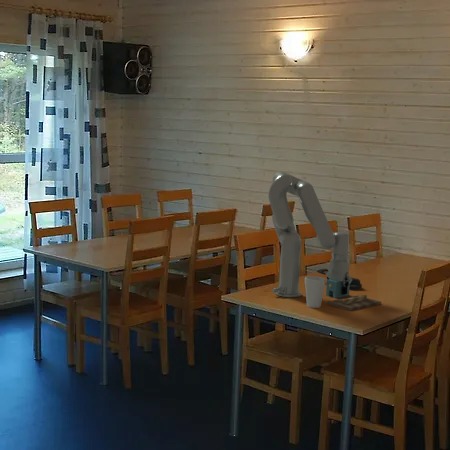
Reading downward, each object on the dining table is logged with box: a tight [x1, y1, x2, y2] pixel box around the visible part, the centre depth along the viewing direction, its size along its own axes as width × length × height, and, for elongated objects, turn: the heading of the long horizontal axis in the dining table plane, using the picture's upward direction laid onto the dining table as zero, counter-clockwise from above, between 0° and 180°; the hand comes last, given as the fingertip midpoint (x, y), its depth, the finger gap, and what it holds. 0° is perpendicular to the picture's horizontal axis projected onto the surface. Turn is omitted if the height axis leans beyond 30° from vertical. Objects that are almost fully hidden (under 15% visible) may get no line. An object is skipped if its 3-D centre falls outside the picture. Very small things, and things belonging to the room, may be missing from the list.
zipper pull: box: [316, 268, 363, 291], centre depth 373 cm, size 9×7×25 cm
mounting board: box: [326, 294, 382, 312], centre depth 335 cm, size 22×14×3 cm, turn 129°
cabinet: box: [325, 279, 350, 299], centre depth 351 cm, size 11×6×8 cm, turn 129°
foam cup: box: [304, 275, 326, 309], centre depth 329 cm, size 10×9×13 cm
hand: (337, 292), depth 351 cm, fingers open, 7 cm apart
